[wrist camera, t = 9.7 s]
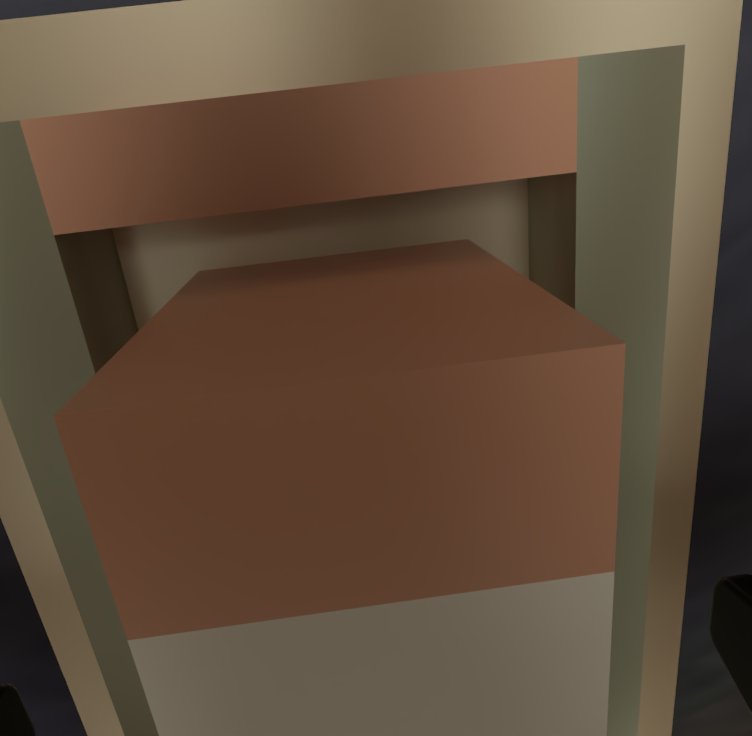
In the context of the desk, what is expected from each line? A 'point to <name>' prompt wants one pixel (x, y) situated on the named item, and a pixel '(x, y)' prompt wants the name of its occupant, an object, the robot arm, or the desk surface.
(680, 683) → the desk surface
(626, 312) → the slot holder
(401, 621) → the banded block
